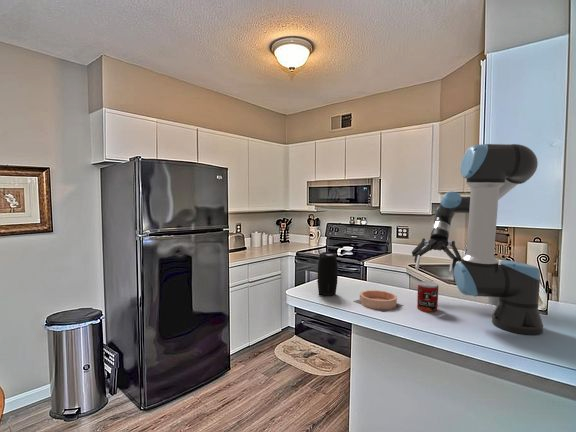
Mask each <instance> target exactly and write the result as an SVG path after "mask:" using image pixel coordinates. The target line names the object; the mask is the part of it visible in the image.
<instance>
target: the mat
mask: <svg viewBox="0 0 576 432" xmlns="http://www.w3.org/2000/svg"><path fill="white" fill-rule="evenodd" d="M352 302H353V303H356V304H359V305H361V306H363V305H362V304H361V303H360V299H357V300H353V301H352ZM400 307H401V308H402V307H404V305H403V304H401V303H398V302H397V305H396V308H392V309H382V310H380V309H375V310H377V311H379V312H381V313H385V312H388V311H392V310H394V309H397V308H400Z"/></svg>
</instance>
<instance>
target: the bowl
mask: <svg viewBox="0 0 576 432" xmlns="http://www.w3.org/2000/svg"><path fill="white" fill-rule="evenodd" d="M359 300H360V303H361V304H362V305H361V304H360V305H361V306H364V307H366V308H370V309H374V310H376V309H380V310H382V309H392V308H395V309H397V308H396V305H397V303H398V296H397V295H396V294H395V293H393V292H388V291H385V290H376V289H372V290H370V289H368V290H363V291H361V292H360V293H359ZM392 310H393V309H392Z"/></svg>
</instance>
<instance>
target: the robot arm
mask: <svg viewBox="0 0 576 432" xmlns="http://www.w3.org/2000/svg"><path fill="white" fill-rule="evenodd" d="M538 165H539V163H538V157H537V155H536V154H535V152H534V151H533V150H532V149H531V148H530V147H528V146H526V145H522V144H520V143H519V144H518V143H516V144H515V143H513V144H509V143H508V144H504V143H503V144H502V143H483V144H474V145H471V146H469V147H468V148H467V150H466V151H465V153H464V155H463V156H462V159H461V164H460V174H461V177H462V178H464V179H466V184H467V186H468V187H469V188H470V196H461V194H460V193H459V192H455V191H448V192H445V194H443V196H442V199H441V200H440V203H439V205H438V206H437V208H436V210H435V213H434V220H433V224H432V229H431V234H430V238H429V240H428V239H426V238H424V237H423V238H422V239H421V242H420V243H418V245H417V246H416V247H415V248H414V249H413V250H412V251H411V255H412V257H414V263H415V266H414V267H415V271H419V267H420V262H421V256H424V255H425V254H427V253H428V252H429V251H432V250H433V251H439V252H440V251H443V252H444V253H445V254H447V256H448V257H449V258H450V263H449V270H448V271H449V272H448V273H449V276H451V275H452V274H453V275H454V276H453V277H454V280H455V284H456V287H457V289H458V290H459V292H460V293H461V294H463V295H464V296H471V297H474V298H476V297H486V298H488V297H499V302H498V305H497V306H496V307H495V309H494V311H493V314H492V315H491V316H492V317H491V322H492V325H494V326H495V327H497V328H499V329H502V330H503V331H507V332H511V333H515V334H520V335H525V336H526V335H527V336H528V335H530V336H537V335H541V334H543V333H544V323H543V320H542V317H541V314H540V310H539V299H540V288H541V287H540V284H541V283H540V282H541V281H542V280H541V270H540V269H539V268H538V267H536V266H535V265H531V264H528V263H524V262H520V261H519V262H518V261H514V260H507V259H502V260H501V261H499V260H498V259H497V258H496V257H495V248H496V246H495V245H496V233H497V220H498V209H499V200H500V199H502V198H503V197H504V196H505V195H506V194H508V193H509V192H510V191H511V190H513V189H514V188H515V187H516V186H517V185H522V184H524V183H526V182H527V181H528V180H529V179H531V178H533V176H534V174H535V173H536V171H537V169H538ZM456 214H468V226H467V239H466V251H465V252H466V253H465V254H464V255H462V256H461V253H460V252H459V250H458V248H457V246H456V242H455V240H452V241H449V238H450V237H449V236H450V230H451V224H452V220H453V218H454V216H455V215H456ZM448 246H449V247H450V248H451V249H452V251H453V252H454V253H453V252H452V251H451V250H450V249H449V248H448ZM499 263H500V264H499ZM453 269H454V270H453Z"/></svg>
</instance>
